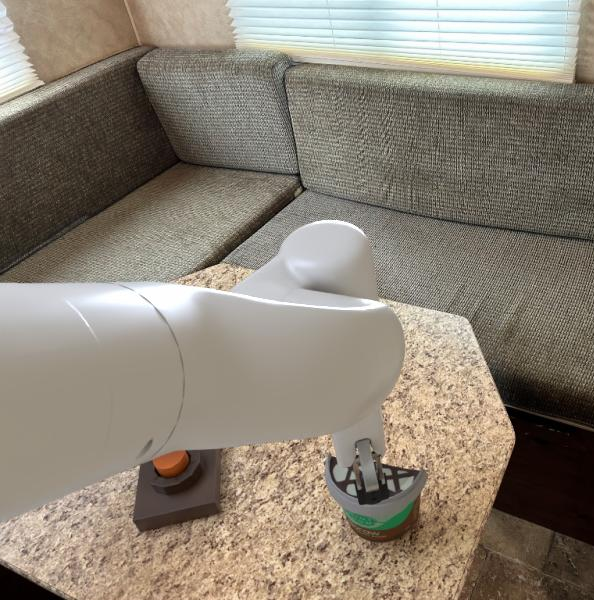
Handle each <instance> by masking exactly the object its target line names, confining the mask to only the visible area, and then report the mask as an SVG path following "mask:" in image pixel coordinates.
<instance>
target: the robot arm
mask: <svg viewBox="0 0 594 600" xmlns="http://www.w3.org/2000/svg"><path fill="white" fill-rule="evenodd" d="M372 248H373V247H372V244H371V242H370V240H369V238H368V237H367V235H366V234H365V232H364V231H362V229H360V228H359V227H357V226H355V224H352V223H349V222H345V221H342V220H335V219H334V220H332V219H331V220H329V219H328V220H327V219H326V220H319V221H314V222H310V223H307V224H305V225H302V226H300V227H299V228H297V229H295V230H293V231H292V232H291V233H290V234H288V235H287V236H286V238H285V239H284V240H283V241H282V243H281V245H280V247H279V249H278V253H277V254H276V255H275V256H274V257H273V258H271V259H270V260H269V261H268V262H266V263H265V264H264V265H262V266H261V267H260V268H258V269H257V270H255V271H254V272H253V273H251V274H250V275H249V276H247V277H245V278H244V279H243V280H241V281H240V282H238V283H237V284H236V285H235V286H233V287H232V288H231V289H229V290H228V291H224V290H220V289H214V288H209V287H204V286H203V287H202V286H196V285H188V284H180V283H170V282H161V281H150V280H147V281H146V280H145V281H143V280H141V281H98V282H97V281H96V282H30V283H29V282H27V283H24V282H23V283H20V282H0V525H1V524H3V523H5V522H9V521H10V520H12V519H15V518H17V517H19V516H22V515H24V514H27V513H29V512H32V511H34V510H36V509H39V508H41V507H43V506H46V505H49V504H51V503H54V502H56V501H58V500H60V499H63V498H66V497H67V496H69V495H72V494H74V493H76V492H79V491H81V490H83V489H85V488H88V487H90V486H93V485H96V484H98V483H100V482H103V481H104V480H107V479H109V478H112V477H114V476H117V475H119V474H121V473H124V472H126V471H129V470H131V469H133V468H136V467H140V465H141V464H143V463H146V462H148V461H150V460H153V459H155V458H157V457H160V456H162V455H165V454H168V453H170V452H174V451H180V450H203V449H221V450H222V449H230V448H238V447H239V448H241V447H246V446H253V445H254V446H255V445H262V444H271V443H280V442H289V441H298V440H305V439H307V440H308V439H313V438H319V437H324V436H329V435H331V441H332V445H333V449H334V454H335V457H336V459H337V463H338V465H339V466H340V467H342V468H346V467H351V466H352V464H353V469H354V473H355V478H356V479H355V480H354V485H355V489H356V494H357V498H358V502H359V505H365V504H369V505H373V504H377V503H380V502H381V501H382V500H386V499H388V498H389V497H390V496H389V490H388V484H387V478H386V473H383V469H382V464H381V463H382V459H383V458H384V457H385V455H386V453H387V447H386V435H385V426H384V418H383V410H382V409H383V408H382V404H384V402H385V401H386V400H387V399H388V397H390V395H391V393H392V392H393V390H395V389H394V388H395V387H396V385H397V383H398V382H399V379H400V377H401V374H402V370H403V367H404V363H405V359H406V358H405V357H406V338H405V332H404V328H403V326H402V325H403V324H402V322H401V320H400V318H399V317H398V315H397V314H396V313H395V312H394V310H393V309H392V308H390V306H388V305H387V304H384V303H382V302H381V301H380V298H379V297H380V296H379V290H378V282H377V275H376V267H375V260H374V253H373V249H372ZM374 462H376V467H377V471H375V466H374ZM359 463H360V464H361V469H362V473H363V474H362V475H361V476H360V471H359V466H358V464H359ZM377 472H378V473H377Z"/></svg>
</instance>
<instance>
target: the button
mask: <svg viewBox="0 0 594 600" xmlns="http://www.w3.org/2000/svg"><path fill="white" fill-rule="evenodd" d="M153 464H154V466H155V467H156V469H157V471H158V473H159V474H160V475H161V476H162V477H165V478H172V477H176V476H178V475H179V474H181V473H182V472H184V471H185V470H186V468H187V467H188V464H189V457H188V455H187V453H186V451H185V450H180V451H174V452H170V453H168V454H165V455H162V456H160V457H157V458H155V459H153Z"/></svg>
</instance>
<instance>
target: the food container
mask: <svg viewBox="0 0 594 600" xmlns="http://www.w3.org/2000/svg"><path fill="white" fill-rule="evenodd" d="M373 462H374V466H375V471H377V467H376V462H375V461H373ZM381 464H382V469H383V473H386V478H387V484H388V490H389V496H390V497H389V498H388V499H386V500H382V501H381V502H380V503H377V504H373V505H369V504H365V505H359V502H358V498H357V494H356V489H355V485H354V480H355V479H356V478H355V473H354V469H353V464H352V466H351V467H346V468H342V467H340V466H339V465H338V463H337V459H336V456H334V455H332V453H331V451H330V450H328V453H327V454H326V458H325V465H324V482H325V485H326V489H327V491H328V493H329V495H330V496H331V498H332V499H333V500H334V501H335V503H337V504H338V505H339V506H340V507H341V508H342V511H343V514H344V515H345V517H346V520H347V522H348V524H349V526H350V528H351V530H352V531H353V532H354V533H355V534H356V535H357V536H358V537H359V538H362V539H364V540H366V541H368V542H370V543H371V542H372V543H379V544H380V543H387V542H392V541H396V540H397V539H399V538H401V537H404V535H406V533H408V532H410V530H411V529H412V527H413V526H414V525H415V524H416V521H417V519H418V518H419V514H420V509H421V495H422V492H423V490H424V488H425V486H426V484H427V481H428V479H429V475H428V472H427V470H426V469H425V468H424V465H421V468H420V470H419V469H414V468H406V467H405V468H404V467H399V466H395V465H391V464H387V463H383V462H381ZM358 466H359V471H360V476H361V475H362V474H363V473H362V469H361V464H360V463H359V464H358ZM377 473H378V472H377Z"/></svg>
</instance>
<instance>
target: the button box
mask: <svg viewBox="0 0 594 600" xmlns="http://www.w3.org/2000/svg"><path fill="white" fill-rule="evenodd" d="M185 451H186V453H187V455H188V457H189V464H188V467H187V468H186V470H185V471H184V472H182V473H181V474H179V475H178V476H176V477H172V478H165V477H162V476H161V475H160V474H159V473H158V471H157V469H156V467H155V466H154V464H153V460H150V461H148V462H146V463H143V464H141V465H139V470H138V477H137V483H136V484H137V485H136V493H135V499H134V507H133V514H132V522H133V524H134V526H135V527H136V528H137V530H138V531H139V533H142V532H147V531H151V530H155V529H159V528H163V527H169V526H172V525H176V524H180V523H185V522H188V521H193V520H199V519H202V518H206V517H211V516H215V515H219V514H221V501H222V500H221V496H222V495H221V494H222V492H221V490H222V489H221V487H222V485H221V484H222V448H221V449H203V450H185Z"/></svg>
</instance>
